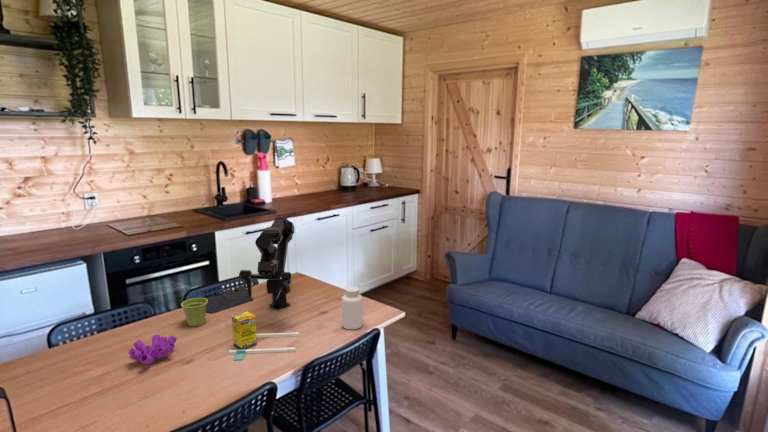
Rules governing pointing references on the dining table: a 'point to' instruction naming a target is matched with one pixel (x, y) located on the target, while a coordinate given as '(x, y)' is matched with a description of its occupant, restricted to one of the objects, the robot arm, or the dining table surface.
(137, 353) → the purple coral
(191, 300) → the plant pot
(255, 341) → the supplement box
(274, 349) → the channel
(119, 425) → the dining table surface
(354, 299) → the pill bottle
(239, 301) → the dark slate chunk
